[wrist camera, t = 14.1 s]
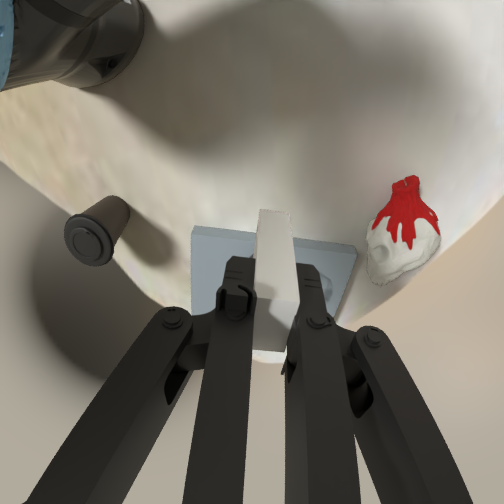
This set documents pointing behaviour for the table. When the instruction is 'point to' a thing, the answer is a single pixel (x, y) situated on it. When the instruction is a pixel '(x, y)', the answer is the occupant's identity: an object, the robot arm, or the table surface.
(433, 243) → the candle
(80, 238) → the coffee cup
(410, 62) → the table surface
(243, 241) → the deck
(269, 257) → the robot arm
